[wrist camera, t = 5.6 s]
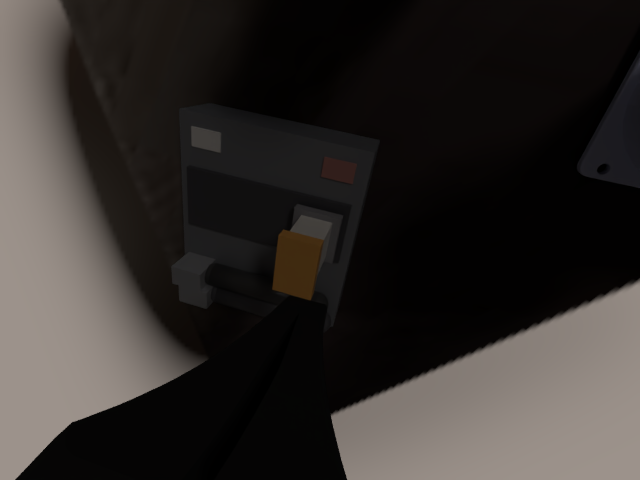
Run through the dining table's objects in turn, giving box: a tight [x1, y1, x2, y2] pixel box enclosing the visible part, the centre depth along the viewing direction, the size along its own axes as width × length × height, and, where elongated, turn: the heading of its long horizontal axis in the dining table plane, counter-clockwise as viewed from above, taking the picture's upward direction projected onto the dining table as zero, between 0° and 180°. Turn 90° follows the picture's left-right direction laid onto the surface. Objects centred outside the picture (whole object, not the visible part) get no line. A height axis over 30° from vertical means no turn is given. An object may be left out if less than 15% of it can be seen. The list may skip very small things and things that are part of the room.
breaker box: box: [171, 103, 380, 333], centre depth 20 cm, size 10×11×5 cm
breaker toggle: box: [272, 204, 343, 300], centre depth 16 cm, size 2×3×4 cm
